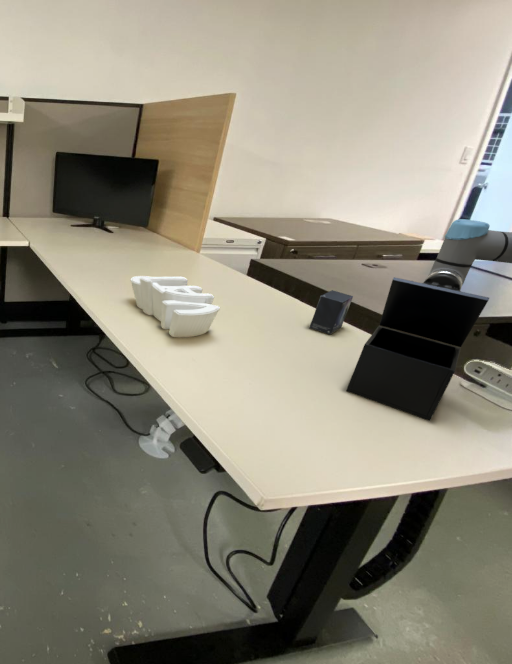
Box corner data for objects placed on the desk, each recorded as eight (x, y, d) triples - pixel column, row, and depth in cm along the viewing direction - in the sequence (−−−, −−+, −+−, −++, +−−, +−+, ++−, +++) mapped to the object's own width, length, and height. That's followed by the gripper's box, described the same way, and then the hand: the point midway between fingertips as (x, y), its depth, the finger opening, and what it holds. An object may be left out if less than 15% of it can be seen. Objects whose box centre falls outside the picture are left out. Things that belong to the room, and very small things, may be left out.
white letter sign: (224, 344, 124) (234, 307, 120) (167, 344, 121) (174, 307, 117) (169, 299, 155) (175, 268, 151) (122, 298, 152) (127, 267, 148)
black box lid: (488, 300, 89) (489, 297, 89) (392, 279, 98) (393, 277, 98) (460, 347, 102) (462, 344, 102) (379, 325, 111) (380, 322, 112)
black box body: (429, 421, 96) (455, 370, 91) (345, 391, 105) (364, 344, 100) (437, 393, 107) (460, 347, 102) (361, 368, 117) (378, 325, 112)
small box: (331, 335, 136) (343, 302, 131) (308, 328, 140) (319, 295, 135) (342, 327, 143) (354, 295, 138) (320, 320, 147) (331, 289, 142)
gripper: (467, 308, 115) (460, 332, 99) (404, 294, 123) (389, 313, 107) (481, 279, 112) (477, 298, 96) (416, 266, 120) (402, 282, 104)
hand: (430, 306), depth 101 cm, fingers closed
